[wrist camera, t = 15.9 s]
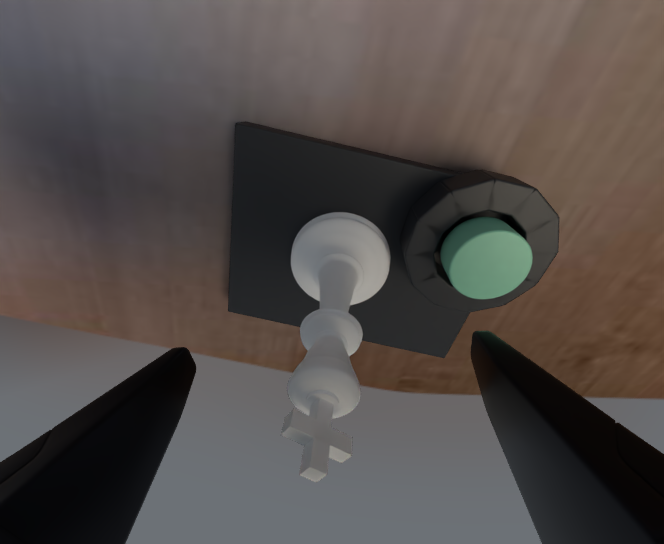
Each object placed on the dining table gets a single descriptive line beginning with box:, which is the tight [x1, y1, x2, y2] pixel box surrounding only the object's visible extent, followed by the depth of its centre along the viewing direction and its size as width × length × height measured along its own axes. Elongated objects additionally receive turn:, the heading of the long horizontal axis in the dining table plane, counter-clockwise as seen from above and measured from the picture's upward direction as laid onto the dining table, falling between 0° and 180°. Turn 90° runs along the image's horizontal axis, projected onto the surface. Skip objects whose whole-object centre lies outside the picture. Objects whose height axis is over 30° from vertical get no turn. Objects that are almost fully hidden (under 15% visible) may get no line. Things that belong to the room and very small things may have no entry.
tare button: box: [440, 217, 533, 299], centre depth 12 cm, size 3×3×2 cm
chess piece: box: [281, 212, 390, 482], centre depth 11 cm, size 5×5×10 cm
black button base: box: [228, 122, 559, 358], centre depth 15 cm, size 14×10×3 cm
